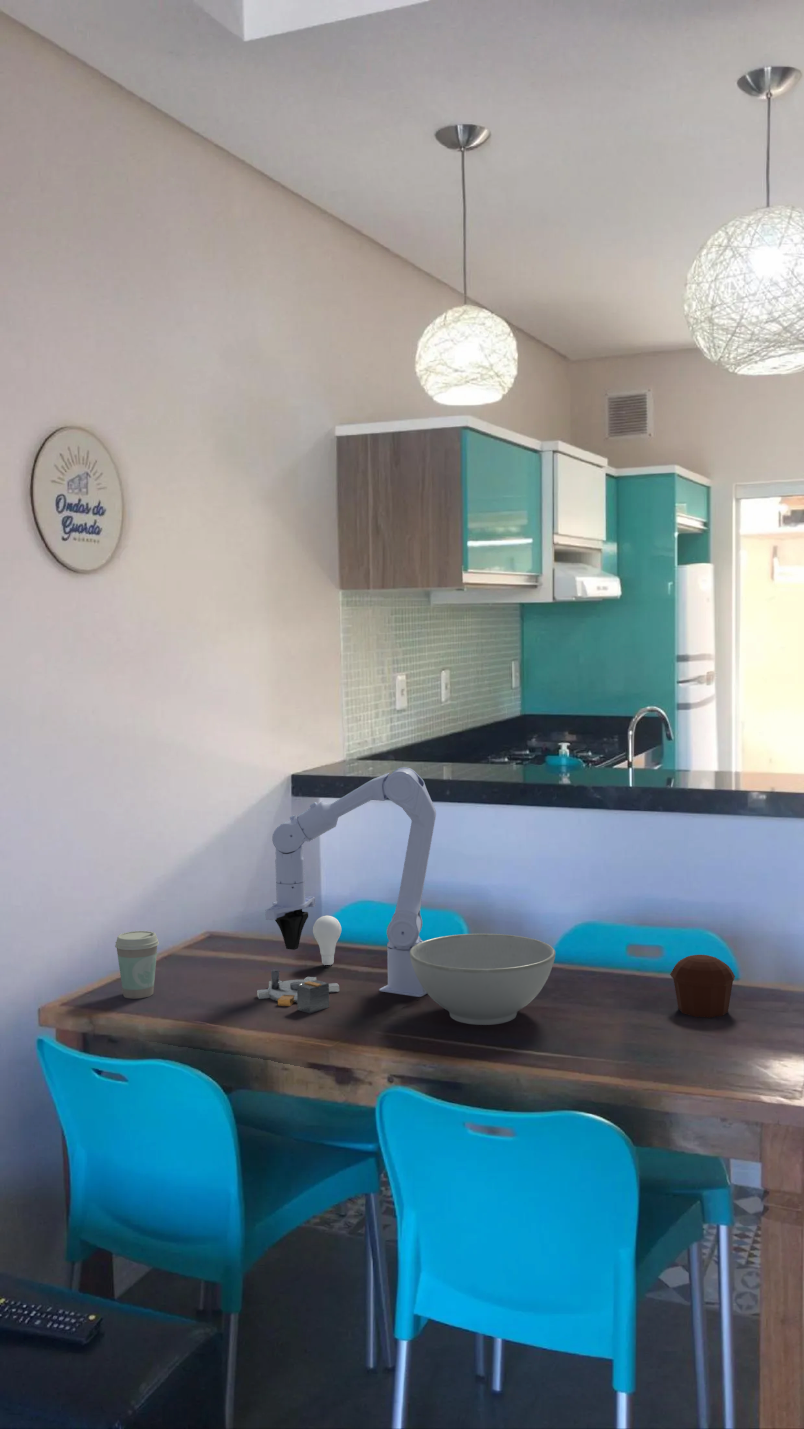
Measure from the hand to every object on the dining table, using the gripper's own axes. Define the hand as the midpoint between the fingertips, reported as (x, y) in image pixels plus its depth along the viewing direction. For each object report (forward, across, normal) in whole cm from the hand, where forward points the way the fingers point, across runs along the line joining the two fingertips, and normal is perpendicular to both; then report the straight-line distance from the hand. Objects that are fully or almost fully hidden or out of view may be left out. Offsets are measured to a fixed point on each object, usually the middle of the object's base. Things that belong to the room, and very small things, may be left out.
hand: (292, 948), depth 239 cm
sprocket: (+8, +4, +4) cm, 9 cm away
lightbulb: (+8, -17, -3) cm, 20 cm away
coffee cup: (+8, +18, -25) cm, 32 cm away
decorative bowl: (+9, -1, +42) cm, 43 cm away
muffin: (+9, -22, +77) cm, 80 cm away
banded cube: (+8, +10, +12) cm, 18 cm away
